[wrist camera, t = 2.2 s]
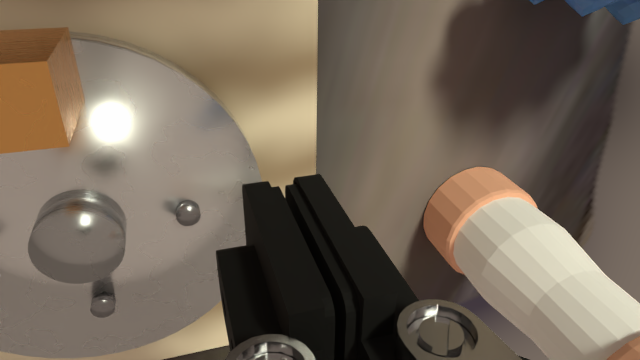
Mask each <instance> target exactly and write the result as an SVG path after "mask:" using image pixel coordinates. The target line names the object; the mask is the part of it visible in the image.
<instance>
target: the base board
mask: <svg viewBox="0 0 640 360" xmlns="http://www.w3.org/2000/svg"><path fill="white" fill-rule="evenodd" d="M61 27H68V29H69V31H72V32H79V33H87V34H95V35H101V36H105V37H109V38H113V39H117V40H121V41H125V42H128V43H131V44H134V45H136V46H139V47H141V48H144V49H147V50H149V51H152V52H154V53H156V54H158V55H160V56H162V57H164V58H166V59H168V60H170V61H172V62H173V63H175V64H177V65H179V66H180V67H182V68H183V69H185V70H186V71H187V72H189V73H190V74H192V75H193V76H195V77H196V78H198V79H199V80H200V81H201V82H202V83H203V84H205V85H206V86H207V87H208V88H209V89H210V90H211V91H212V92H213V93H215V94H216V95H217V96H218V98H219V99H220V100H221V101H222V102H223V103H224V105H225V106H226V107H227V108H228V109H229V110H230V112H231V113H232V114H233V116H234V118H235V119H236V121H237V122H238V124H239V125H240V127H241V128H242V130H243V132H244V134H245V136H246V139H247V141H248V143H249V145H250V147H251V150H252V152H253V155H254V157H255V159H256V162H257V166H258V169H259V173H260V176H261V180H262V182H264V181H269V183H270V185H271V187H276V186H279V187H280V189H281V191H282V193H283V195H284V197H285V186H286V185H291V184H293V180H294V178H295V177H301V176H308V175H316V120H317V36H318V0H0V30H18V29H40V28H61ZM226 345H229V341H228V336H227V331H226V325H225V320H224V314H223V307H222V301H220V302H219V303H218V304H217V305H216V306H214V307H213V308H212V309H211V310H210V311H209V312H207V313H206V314H204V315H203V316H202V317H200V318H199V319H198V320H196V321H195V322H193V323H192V324H190V325H188V326H186V327H185V328H183V329H181V330H180V331H178V332H176V333H174V334H171V335H169V336H167V337H165V338H163V339H161V340H158V341H156V342H153V343H150V344H147V345H144V346H141V347H139V348H135V349H131V350H127V351H123V352H119V353H114V354H108V355H102V356H96V357H83V358H42V357H31V356H23V355H17V354H12V353H6V352H1V351H0V360H162V359H167V358H171V357H176V356H180V355H185V354H190V353H194V352H199V351H203V350H208V349H212V348H217V347H222V346H226Z"/></svg>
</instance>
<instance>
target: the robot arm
mask: <svg viewBox="0 0 640 360" xmlns="http://www.w3.org/2000/svg"><path fill="white" fill-rule="evenodd" d="M242 196H243V209H244V222H245V235H246V245H245V246H239V247H233V248H227V249H221V250H216V261H217V270H218V278H219V287H220V294H221V301H222V307H223V314H224V320H225V325H226V331H227V336H228V341H229V347H230V352H229V354H228V355H227V357H226V358H225V360H529V359H526V358H523V357H520V356H518V355H517V354H515V352H514V351H513V350H511V349H510V348H509V347H508V346H507V345H506V344H505V343H504V342H503V341H502V340H501V339H500V338H499V337H498V336H497V335H496V334H495V333H494V332H492V330H491V329H490V328H489V327H487V326H486V325H485V324H484V323H483V322H482V321H481V320H480V319H479V318H478V317H477V316H475V315H474V314H473V313H472V312H470V311H469V310H468V309H466V308H464V307H462V306H460V305H458V304H456V303H453V302H449V301H445V300H439V299H426V300H422V301H419V300H418V299H417V297H416V296H415V294H414V293H413V291H412V290H411V289H410V287H409V286H408V284H407V283H406V281H405V280H404V278H403V277H402V276H401V274H400V273H399V271H398V270H397V268H396V267H395V265H394V264H393V263H392V261H391V260H390V258H389V257H388V255H387V254H386V253H385V251H384V250H383V248H382V247H381V245H380V244H379V242H378V241H377V240H376V238H375V237H374V235H373V234H372V232H371V231H370V230H369V229H368V228H367V227H366V226H358V227H354V225H353V224H352V222H351V221H350V219H349V217H348V216H347V214H346V213H345V211H344V210H343V208H342V207H341V205H340V204H339V202H338V201H337V199H336V198H335V196H334V194H333V193H332V191H331V190H330V188H329V187H328V185H327V184H326V182H325V181H324V179H323V178H322V176H321V175H320V174H316V175H308V176H301V177H295V178H294V180H293V184H291V185H286V186H285V197H284V195H283V193H282V191H281V189H280V187H279V186H276V187H271V185H270V183H269V181H264V182H257V183H249V184H243V185H242Z"/></svg>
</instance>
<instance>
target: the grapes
mask: <svg viewBox="0 0 640 360" xmlns="http://www.w3.org/2000/svg"><path fill="white" fill-rule="evenodd" d="M529 1H530V2H531V3H533V4H534V5H535V4H538V3H540V2H542V1H544V0H529ZM565 1H566V2H567V3H568V4H569V6H570V7H571V8H573V9H574V10H575V11H576V12H577V13H578V14H580V15H581V16H582V17H583V16H585V15H587V14H590V13H592V12H595V11H597V10H599V9H601V8H603V7H606V9H607V10H608V11H609V12H610V13H611V14H612V15H613V17H615V18H616V19H617V20H618V21H619V22H620V23H622V24H623V25H624V24H627V23H630V22H632V21H635V20H637V19H640V0H565Z"/></svg>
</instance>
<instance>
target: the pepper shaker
mask: <svg viewBox="0 0 640 360" xmlns="http://www.w3.org/2000/svg"><path fill="white" fill-rule="evenodd" d="M423 227H424V230H425V233H426V236H427V238H428V239H429V240H430V242H431V243H432V244H433V245H434V246H435V248H436V249H437V250H438V251H439V253H440V254H441V255H442V256H443V257H444V259H445V260H446V261H447V262H448V263H449V265H450V266H451V267H452V268H453V269H454V270H455V271H456V272H459V273H461V274H464V275H466V277H467V278H468V279H469V280H470V282H471V283H472V284H473V286H474V287H475V288H476V289H477V291H478V292H479V293H480V294H481V296H482V297H483V298H484V299H485V300H486V301H487V302H488V303H489V304H490V305H491V306H492V307H494V308H495V309H496V310H497V311H498V312H500V313H501V314H502V315H503V316H504V317H506V318H507V319H508V320H509V321H510V322H512V323H513V324H514V325H515V326H516V327H517V328H519V329H520V330H521V331H522V332H523V333H524V334H526V335H527V336H528V337H529V338H530V339H531V340H533V341H534V343H535V344H536V345H537V346H538V347H539V348H540V349H541V351H542V352H543V353H544V354H545V355H546V356H547V357H548V358H549V360H640V303H638V302H637V301H636V300H635V299H634V298H632V297H631V296H630V295H629V294H628V293H626V292H625V291H624V290H623V289H622V288H620V287H619V286H618V285H617V284H616V283H614V282H613V281H612V280H611V279H610V278H608V277H607V276H606V275H605V274H604V273H603V272H602V271H601V270H600V268H599V267H598V266H597V265H596V264H595V263H594V262H593V260H592V259H591V258H590V257H589V256H588V255H587V254H586V253H585V251H584V250H583V249H582V248H581V247H580V246H579V245H578V243H577V242H576V241H575V240H574V239H573V238H572V237H571V236H570V234H569V233H568V232H567V231H566V230H565V229H564V228H563V227H561V226H560V225H559V224H557V223H556V222H554V221H553V220H552V219H550V218H549V217H548V216H546V215H545V214H544V213H542V212H541V211H540V210H538V209H537V205H536V203H535V202H534V201H533V199H532V198H531V196H530V195H529V194H527V193H526V192H525V191H523V190H522V189H521V188H520V187H518V186H517V185H516V184H514V183H513V182H512V181H511V180H509V179H508V178H507V177H505V176H504V175H503V174H502V173H500V172H498V171H496V170H494V169H492V168H486V167H475V168H471V169H467V170H463V171H462V172H460V173H458V174H456V175H454V176H452V177H450V178H449V179H448V180H447V181H446V182H445V183H443V184H442V185H441V186H440V187H439V188H438V189H437V190H436V192H435V193H434V195H433V196H432V197H431V199H430V200H429V202H428V205H427V208H426V210H425V213H424V225H423Z"/></svg>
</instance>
